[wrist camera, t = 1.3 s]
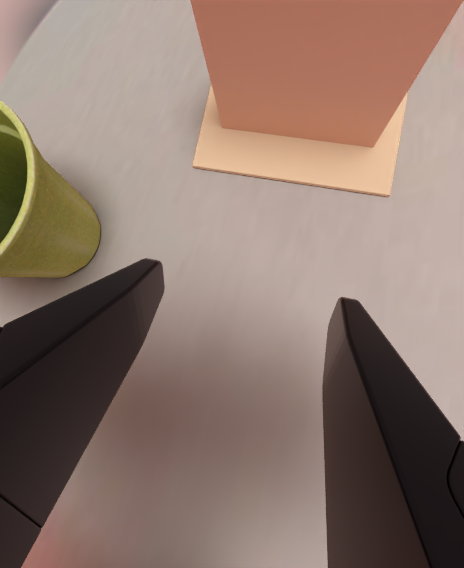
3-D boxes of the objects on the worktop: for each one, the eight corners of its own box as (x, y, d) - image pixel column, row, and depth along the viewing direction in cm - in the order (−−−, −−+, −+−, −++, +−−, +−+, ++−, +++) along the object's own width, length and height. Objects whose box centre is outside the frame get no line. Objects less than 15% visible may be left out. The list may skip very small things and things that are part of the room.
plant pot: (24, 161, 23) (-118, 72, 15) (140, 185, 22) (58, 101, 14) (-14, 282, 23) (-185, 262, 14) (104, 314, 21) (-7, 312, 13)
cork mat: (388, 196, 20) (389, 195, 20) (193, 167, 22) (192, 165, 21) (427, -29, 21) (429, -34, 21) (240, -39, 23) (240, -44, 23)
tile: (373, 147, 20) (473, -16, 10) (222, 128, 21) (182, -33, 12) (378, 118, 20) (482, -71, 10) (228, 100, 22) (194, -82, 12)
